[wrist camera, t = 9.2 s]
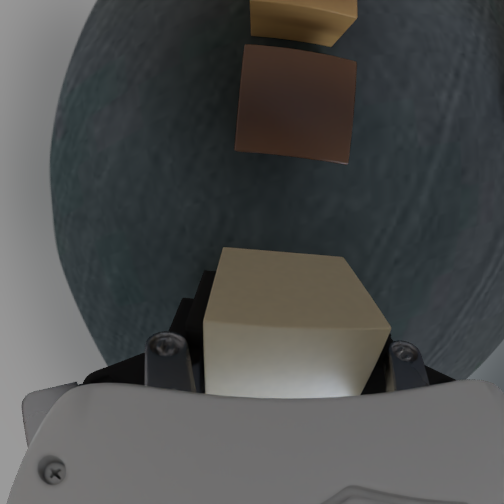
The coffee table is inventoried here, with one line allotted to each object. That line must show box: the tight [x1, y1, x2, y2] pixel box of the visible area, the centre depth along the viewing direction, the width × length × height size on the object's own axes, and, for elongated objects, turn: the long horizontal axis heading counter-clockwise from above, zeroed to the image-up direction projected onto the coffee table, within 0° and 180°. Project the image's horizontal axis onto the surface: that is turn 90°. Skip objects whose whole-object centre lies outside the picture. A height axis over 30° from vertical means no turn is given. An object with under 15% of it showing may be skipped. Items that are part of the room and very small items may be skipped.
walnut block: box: [234, 44, 357, 165], centre depth 13 cm, size 5×5×5 cm
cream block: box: [203, 247, 391, 398], centre depth 10 cm, size 5×5×5 cm
